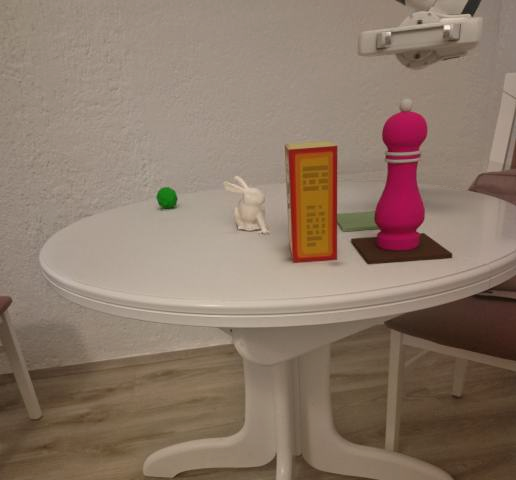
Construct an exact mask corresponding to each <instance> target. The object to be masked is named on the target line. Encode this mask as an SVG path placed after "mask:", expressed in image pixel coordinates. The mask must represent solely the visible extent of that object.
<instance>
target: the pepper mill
mask: <svg viewBox="0 0 516 480" xmlns="http://www.w3.org/2000/svg"><path fill="white" fill-rule="evenodd" d="M398 107H399V111H400V112H397V113H394V114H392V115H391V116H390V117H389V118H388V119H387V120H386V121H385V122H384V124H383V127H382V132H381V139H382V142H383V144H384V145H385V146H386V149H387V150H386V151H384V155H385V158H384V162H385V163H386V164H387V165H386V167H387V173H386V174H387V175H386V181H385V184H384V185H385V186H384V188H383V191H382V193H381V195H380V197H379V199H378V202H377V204H376V207H375V210H374V211H375V216H374V220H375V223H376V225H377V226H378V227H379V229H378V230H380V231H379V232H378V233H377V234H376V237H377V246H378V247H379V248H381V249H385V250H392V251H404V250H410V249H414V248H416V247H418V245H419V238H420V234H419V233H420V232H418V231H417V230H418V229H419V228H420V227H421V226H422V225H423V224H424V221H425V218H426V217H425V215H426V211H425V204H424V201H423V198H422V196H421V193H420V188H419V186H418V185H419V184H418V179H417V178H418V177H417V176H418V175H417V174H418V173H417V172H418V165H419V162H420V161H421V160H422V157H421V156H422V153H423V150H422V149H421V148H420V147H421V146H422V144H423V143H424V142H425V140H426V139H427V137H428V123H427V121H426V119H425V118H424V116H423V115H422V114H421V113H418V112H416V111H412V110H413V107H414V102H413V101H412V99H410V98H404V99H403V100H401V101H400V103H399V106H398Z"/></svg>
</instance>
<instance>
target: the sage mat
mask: <svg viewBox="0 0 516 480" xmlns="http://www.w3.org/2000/svg"><path fill="white" fill-rule="evenodd" d="M374 216H375V210H371V211H370V210H369V211H358V212H357V211H356V212H345V213H343V212H342V213H337V226H338V227H339V228H340V229H341V231H342V232H343V233H344V232H345V233H346V232H356V231H358V232H359V231H370V230H371V231H373V230H380V229H379V227H378V226H377V225H376V223H375V220H374Z"/></svg>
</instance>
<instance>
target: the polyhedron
mask: <svg viewBox="0 0 516 480" xmlns="http://www.w3.org/2000/svg"><path fill="white" fill-rule="evenodd" d="M178 199H179V198H178V195H177V192H176V190H175V189H173V188H171V187H169V186H164V187H161V188H160V189H159V190H158V191H157V194H156V201H157V203H158V205H159V206H160V207H161V208H163V209H165V210H170V209H173V208H174V207H176V205H177V202H178Z"/></svg>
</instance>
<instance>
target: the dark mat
mask: <svg viewBox="0 0 516 480" xmlns="http://www.w3.org/2000/svg"><path fill="white" fill-rule="evenodd" d="M418 233H419V234H420V238H419V245H418V247H416V248H414V249H410V250H404V251H392V250H385V249H381V248H379V247H378V246H377V236H368V237H355V238H354V237H353V238H351V239H350V243H351V244H352V245H353V246H354V248H355V249H356V251H357V252H358V253H359V254H360V256H361V257H362V258H363V260H364V261H365V262H366V263H367V265H372V264H387V263H388V264H389V263H398V262H412V261H424V260H426V261H427V260H441V259H452V258H453V253H452V252H451V251H449V250H448V249H447V248H446V247H444V246H443V245H441V244H440V243H438V242H437V241H436V240H434V239H433V238H431V237H430V236H429V235H428V234H426V233H425V232H418Z"/></svg>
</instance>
